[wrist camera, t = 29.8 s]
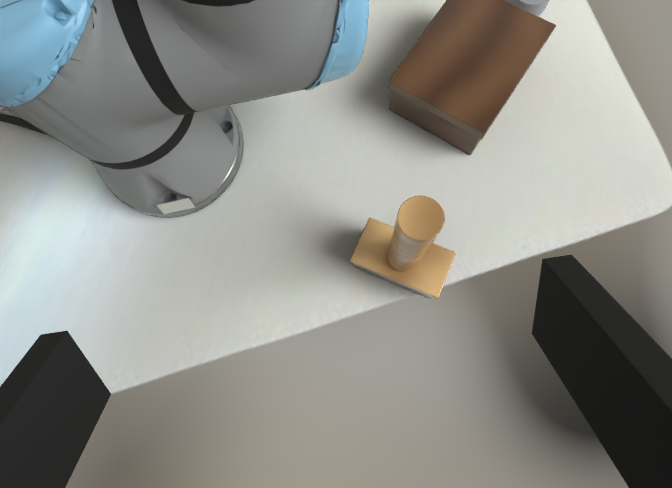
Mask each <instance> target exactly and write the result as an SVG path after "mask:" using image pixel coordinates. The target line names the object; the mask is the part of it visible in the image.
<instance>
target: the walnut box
mask: <svg viewBox="0 0 672 488" xmlns="http://www.w3.org/2000/svg"><path fill="white" fill-rule="evenodd" d="M555 27H556V25H554V24H552V23H550V22H548V21H546V20H544V19H542V18H540V17H538V16H536V15H534V14H531V13H529V12H527V11H525V10H523V9H521V8H519V7H517V6H515V5H513V4H510V3H508V2H506V1H504V0H446V2H445V3H444V5H443V6H442V7H441V9H440V10H439V12H438V13H437V14H436V16H435V17H434V19H433V20H432V21H431V23H430V24H429V26H428V27H427V28H426V30H425V31H424V33H423V34H422V35H421V37H420V38H419V40H418V41H417V42H416V44H415V45H414V47H413V48H412V49H411V51H410V52H409V54H408V55H407V56H406V58H405V59H404V61H403V62H402V63H401V65H400V66H399V68H398V69H397V70H396V72H395V73H394V75H393V76H392V77H391V79H390V80H389V85H388V88H389V89H391V94H390V104H389V110H391V111H393V112H395V113H397V114H398V115H400V116H402V117H404V118H405V119H407V120H409V121H411V122H413V123H414V124H416V125H418V126H420V127H421V128H423V129H425V130H427V131H429V132H430V133H432V134H434V135H436V136H437V137H439V138H441V139H443V140H445V141H446V142H448V143H450V144H452V145H453V146H455V147H457V148H459V149H461V150H462V151H464V152H466V153H468V154H469V155H471V154H472V152H473V151H474V149H475V148H476V146H477V145H478V143H479V142H480V140H481V139H483V137H484V136H485V134H486V133H487V131H488V130H489V128H490V126H491V125H492V123H493V122H494V120H495V119H496V117H497V116H498V114H499V113H500V111H501V110H502V108H503V107H504V105H505V104H506V102H507V101H508V99H509V98H510V96H511V94H512V93H513V91H514V90H515V88H516V87H517V85H518V84H519V82H520V81H521V79H522V78H523V76H524V75H525V73H526V72H527V70H528V69H529V67H530V65H531V64H532V62H533V61H534V59H535V58H536V56H537V55H538V53H539V52H540V50H541V49H542V47H543V46H544V44H545V43H546V41H547V40H548V38H549V36H550V35H551V33H552V32H553V30H554V28H555Z"/></svg>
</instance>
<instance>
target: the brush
mask: <svg viewBox="0 0 672 488" xmlns="http://www.w3.org/2000/svg"><path fill="white" fill-rule="evenodd" d="M444 220H445V217H444V212H443V210H442V208H441V206H440V205H439V204H438V203H437V202H436V201H435V200H433V199H432V198H429V197H426V196H415V197H412V198H409V199H408V200H406V201H405V202H404V203H403V204H402V205H401V207H400V209H399V211H398V215H397V218H396V222H395V226H394V227H391V226H389V225H387V224H384V223H382V222H379V221H377V220H374V219H372V218H369V219H368V222H367V224H366V226H365V228H364V231H363V233H362V235H361V237H360V239H359V242H358V244H357V246H356V248H355V251H354V253H353V255H352V257H351V263H354V266H355V267H357V268H359V269H361V270H364V271H366V272H368V273H371V274H373V275H375V276H378V277H380V278H382V279H385V280H387V281H389V282H392V283H394V284H396V285H399V286H401V287H403V288H406V289H408V290H410V291H413V292H415V293H417V294H420V295H423V296H424V297H427V298H429V299H431V298H432V297H433V298H435V299H437V298H438V297H439V295H440V292H441V290H442V288H443V285H444V283H445V280H446V278H447V275H448V273H449V270H450V268H451V265H452V263H453V260H454V258H455V255H456V253H455V252H453V251H450V250H448V249H445V248H443V247H441V246H438V245H436V244H433V241H434V240H435V238H436V237H437V236H438V234H439V233H440V231H441V230H442V228H443V225H444Z"/></svg>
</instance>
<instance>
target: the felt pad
mask: <svg viewBox="0 0 672 488" xmlns="http://www.w3.org/2000/svg"><path fill="white" fill-rule="evenodd" d="M506 2H508V3H510V4H513V5H515V6H517V7H519V8H521V9H523V10H525V11H527V12H529V13H531V14H534V15H536V16H538V15H540V14H541V13H542V12H543V11H544V9H545V8H546V6H547V4H548V2H549V0H506Z"/></svg>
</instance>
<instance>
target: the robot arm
mask: <svg viewBox="0 0 672 488" xmlns="http://www.w3.org/2000/svg"><path fill="white" fill-rule="evenodd" d="M368 13H369V0H0V106H2V107H4V108H6V109H7V110H9V111H11V112H12V113H14V114H16V115H17V116H19V117H20V118H22V119H20V118H17V117H13V116H9V115H5V114H1V113H0V121H4V122H8V123H12V124H16V125H19V126H22V127H25V128H28V129H31V130H34V131H37V132H40V133H43V134H47V135H50V136H52V137H53V138H55V139H57V140H58V141H60V142H62V143H63V144H65V145H67V146H68V147H70V148H72V149H73V150H75V151H76V152H78V153H80V154H81V155H83V156H85V157H86V158H88V159H90V161H91V162H92V164H93V165H94V167H95V168H96V170H97V172H98V173H99V175H100V176H101V178H102V179H103V181H104V182H105V184H106V185H107V187H108V188H109V189H110V190H111V191H112V193H113V194H114V195H115V196H116V197H117V198H118V199H120V200H121V201H122V202H124V203H125V204H127V205H129V206H130V207H132V208H134V209H136V210H138V211H140V212H142V213H145V214H148V215H151V216H156V217H178V216H183V215H187V214H191V213H193V212H196V211H198V210H200V209H202V208H204V207H206V206H208V205H209V204H211V203H212V202H213V201H215V200H216V199H217V198H218V197H219V196H220V195H221V194H222V193H223V192H224V191H225V190H226V189H227V188H228V187H229V185H230V184H231V182H232V181H233V179H234V177H235V176H236V174H237V171H238V169H239V166H240V163H241V160H242V155H243V135H242V130H241V127H240V124H239V122H238V120H237V118H236V116H235V114H234V113H233V111H232V109H231V107H230V106H229V105H232V104H237V103H241V102H246V101H251V100H256V99H261V98H265V97H270V96H275V95H280V94H285V93H289V92H294V91H299V90H304V89H305V90H310V89H313V88H315V87H317V86H318V85H320V84H321V83H325V82H328V81H332V80H335V79H339V78H342V77H345V76H347V75H348V74H349V73H351V72H352V71H353V70H354V69H355V67H356V66H357V65H358V63H359V61H360V59H361V56H362V54H363V50H364V46H365V41H366V35H367V26H368ZM532 335H533V336H534V338H535V339H536V341H537V342H538V344H539V346H540V347H541V349H542V350H543V352H544V353H545V355H546V357H547V358H548V360H549V361H550V363H551V365H552V366H553V368H554V369H555V371H556V373H557V374H558V376H559V377H560V379H561V380H562V382H563V384H564V385H565V387H566V388H567V390H568V392H569V393H570V395H571V396H572V398H573V400H574V401H575V402H576V404H577V406H578V407H579V409H580V410H581V412H582V414H583V415H584V417H585V419H586V420H587V422H588V423H589V425H590V426H591V428H592V430H593V431H594V433H595V434H596V436H597V438H598V439H599V441H600V442H601V444H602V445H603V447H604V449H605V450H606V452H607V453H608V455H609V457H610V458H611V460H612V461H613V463H614V465H615V466H616V468H617V469H618V471H619V472H620V474H621V476H622V477H623V479H624V480H625V482H626V483H627V485H628V487H629V488H672V358H670V356H669V355H668V354H667V353H666V352H665V351H664V350H663V349H662V348H661V347H660V346H659V345H658V344H657V343H656V342H655V341H654V340H653V339H652V338H651V337H650V336H649V335H648V334H647V332H646V331H645V330H644V329H643V328H642V327H641V326H640V325H639V324H638V323H637V322H636V321H635V320H634V319H633V318H632V317H631V316H630V315H629V314H628V313H627V312H626V311H625V310H624V309H623V307H621V305H620V304H619V303H618V302H617V301H616V300H615V299H614V298H613V297H612V296H611V295H610V294H609V293H608V292H607V291H606V290H605V289H604V288H603V287H602V286H601V285H600V284H599V283H598V282H597V281H596V279H595V278H594V277H593V276H592V275H591V274H590V273H589V272H588V271H587V270H586V269H585V268H584V267H583V266H582V265H581V264H580V263H579V262H578V261H577V260H576V259H575V258H574V257H573V256H572V255H566V256H560V257H553V258H546V259H543V260H542V266H541V274H540V280H539V288H538V294H537V301H536V308H535V315H534V322H533V329H532ZM110 395H111V393H110V392H109V390H108V389H107V388H106V386H105V385H104V383H103V382H102V380H101V379H100V377H99V376H98V375H97V373H96V372H95V370H94V369H93V367H92V366H91V364H90V363H89V362H88V360H87V359H86V357H85V356H84V354H83V353H82V351H81V350H80V349H79V347H78V346H77V344H76V343H75V341H74V340H73V338H72V337H71V336H70V334H69V333H68V331H63V332H56V333H49V334H43V335H40V336H39V338H38V339H37V340H36V342H35V343H34V344H33V345H32V347H31V348H30V349H29V351H28V352H27V353H26V355H25V356H24V357H23V358H22V360H21V361H20V362H19V364H18V365H17V366H16V367H15V369H14V370H13V371H12V373H11V374H10V375H9V376H8V378H7V379H6V380H5V382H4V383H3V384H2V385H1V387H0V488H65V487H66V485H67V483H68V480H69V478H70V477H71V475H72V472H73V470H74V468H75V466H76V464H77V462H78V460H79V458H80V456H81V454H82V452H83V450H84V448H85V446H86V444H87V442H88V440H89V438H90V436H91V434H92V432H93V430H94V427H95V425H96V424H97V422H98V420H99V418H100V415H101V413H102V411H103V409H104V407H105V405H106V403H107V401H108V399H109V397H110Z"/></svg>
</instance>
